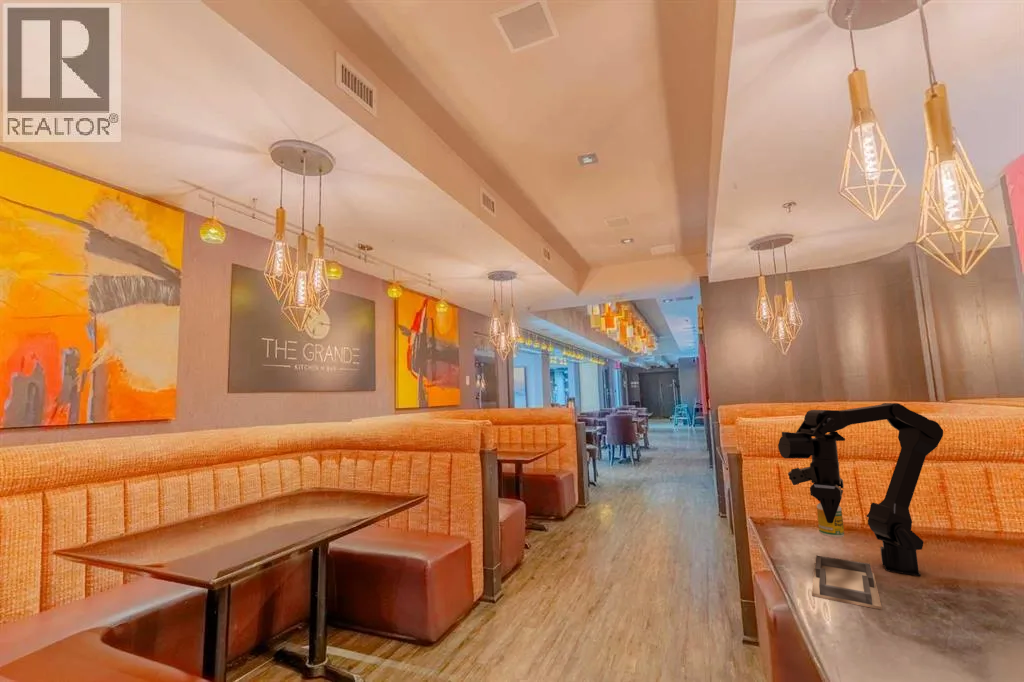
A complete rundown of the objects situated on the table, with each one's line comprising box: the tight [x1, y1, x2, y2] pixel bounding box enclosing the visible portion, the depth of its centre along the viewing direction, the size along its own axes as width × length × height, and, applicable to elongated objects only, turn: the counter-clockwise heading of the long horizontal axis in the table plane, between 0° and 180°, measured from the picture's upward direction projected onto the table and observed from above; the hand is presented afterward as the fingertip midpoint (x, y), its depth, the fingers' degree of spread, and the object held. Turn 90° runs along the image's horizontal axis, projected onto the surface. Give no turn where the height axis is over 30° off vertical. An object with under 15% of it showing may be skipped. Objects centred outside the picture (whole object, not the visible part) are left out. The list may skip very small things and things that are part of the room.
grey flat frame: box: [811, 555, 883, 611], centre depth 105 cm, size 12×22×3 cm, turn 145°
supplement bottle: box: [816, 502, 845, 539], centre depth 116 cm, size 5×5×10 cm
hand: (830, 520), depth 116 cm, fingers closed on supplement bottle, 5 cm apart
